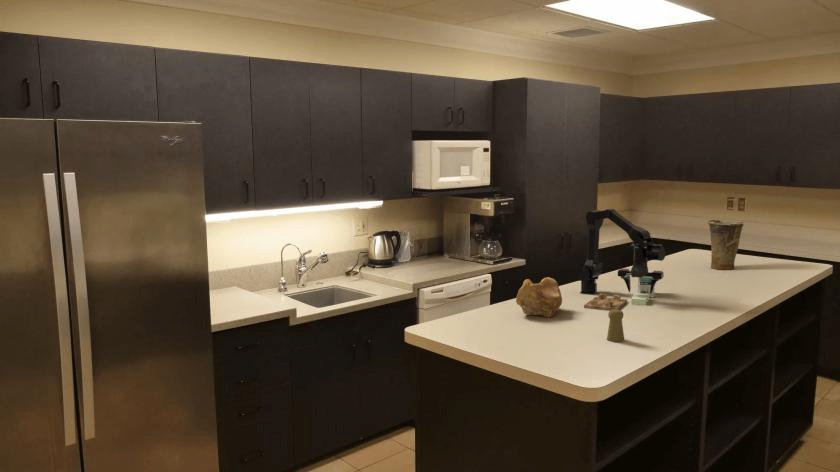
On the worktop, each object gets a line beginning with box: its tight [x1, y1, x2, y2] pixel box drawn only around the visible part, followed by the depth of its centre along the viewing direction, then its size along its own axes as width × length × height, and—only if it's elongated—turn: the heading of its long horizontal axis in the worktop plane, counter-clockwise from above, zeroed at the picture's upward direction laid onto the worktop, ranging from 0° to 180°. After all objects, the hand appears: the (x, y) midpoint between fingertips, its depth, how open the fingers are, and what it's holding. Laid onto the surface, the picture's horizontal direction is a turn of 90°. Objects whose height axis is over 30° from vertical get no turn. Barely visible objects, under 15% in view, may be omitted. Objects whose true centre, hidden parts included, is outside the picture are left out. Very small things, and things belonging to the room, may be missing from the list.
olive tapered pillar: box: [606, 309, 625, 343], centre depth 224 cm, size 6×6×11 cm
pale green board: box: [630, 292, 650, 306], centre depth 280 cm, size 6×12×3 cm, turn 154°
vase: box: [707, 219, 745, 271], centre depth 349 cm, size 18×18×27 cm
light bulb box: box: [636, 270, 655, 298], centre depth 293 cm, size 11×7×11 cm, turn 168°
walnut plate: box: [583, 293, 628, 312], centre depth 276 cm, size 14×18×3 cm
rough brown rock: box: [515, 276, 563, 319], centre depth 263 cm, size 23×17×15 cm
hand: (640, 292), depth 280 cm, fingers open, 9 cm apart
